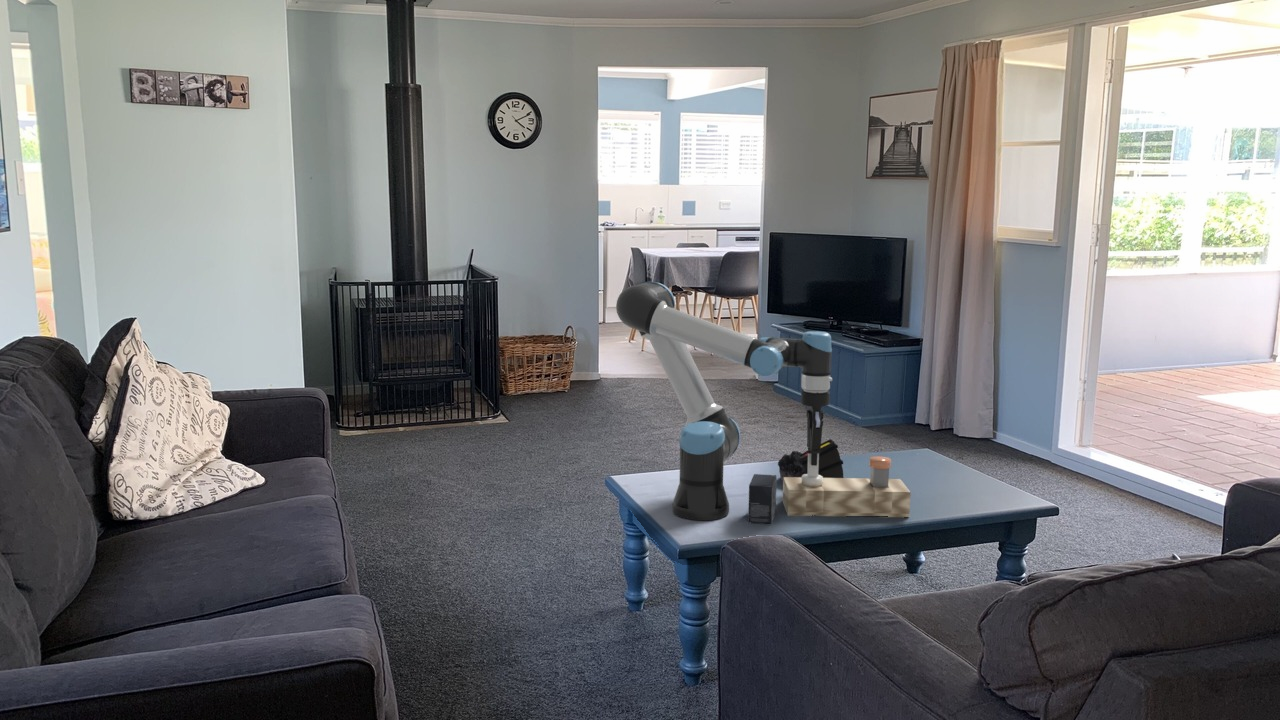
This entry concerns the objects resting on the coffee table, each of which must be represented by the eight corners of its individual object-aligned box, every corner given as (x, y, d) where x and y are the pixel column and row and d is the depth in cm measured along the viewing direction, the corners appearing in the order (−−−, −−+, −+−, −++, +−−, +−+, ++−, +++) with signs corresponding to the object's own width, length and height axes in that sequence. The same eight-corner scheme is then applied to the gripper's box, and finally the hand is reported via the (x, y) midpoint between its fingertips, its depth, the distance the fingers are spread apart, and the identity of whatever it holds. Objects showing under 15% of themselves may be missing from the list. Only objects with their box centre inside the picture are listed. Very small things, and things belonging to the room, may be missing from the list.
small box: (752, 510, 261) (753, 472, 260) (776, 512, 260) (777, 474, 258) (746, 523, 251) (748, 484, 249) (772, 525, 250) (773, 486, 248)
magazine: (855, 486, 278) (835, 441, 275) (814, 507, 277) (794, 462, 274) (850, 482, 282) (831, 438, 278) (810, 503, 281) (790, 458, 277)
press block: (787, 515, 257) (788, 490, 256) (782, 501, 269) (783, 477, 268) (909, 517, 256) (910, 492, 255) (898, 503, 268) (900, 479, 267)
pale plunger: (802, 506, 260) (803, 479, 259) (799, 500, 265) (800, 473, 264) (823, 506, 260) (824, 479, 259) (820, 500, 265) (821, 473, 264)
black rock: (823, 477, 295) (821, 445, 294) (825, 486, 282) (823, 453, 281) (778, 479, 297) (777, 446, 296) (778, 488, 284) (777, 454, 283)
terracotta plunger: (870, 488, 259) (872, 461, 257) (866, 482, 264) (867, 456, 263) (891, 489, 258) (893, 462, 257) (887, 483, 264) (888, 456, 263)
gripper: (833, 395, 251) (830, 483, 255) (825, 385, 264) (823, 469, 268) (804, 394, 251) (802, 482, 255) (798, 385, 264) (795, 469, 268)
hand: (812, 475), depth 261 cm, fingers closed
